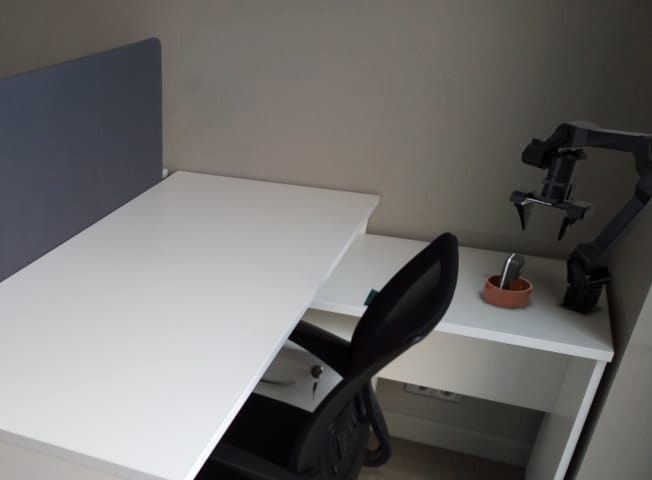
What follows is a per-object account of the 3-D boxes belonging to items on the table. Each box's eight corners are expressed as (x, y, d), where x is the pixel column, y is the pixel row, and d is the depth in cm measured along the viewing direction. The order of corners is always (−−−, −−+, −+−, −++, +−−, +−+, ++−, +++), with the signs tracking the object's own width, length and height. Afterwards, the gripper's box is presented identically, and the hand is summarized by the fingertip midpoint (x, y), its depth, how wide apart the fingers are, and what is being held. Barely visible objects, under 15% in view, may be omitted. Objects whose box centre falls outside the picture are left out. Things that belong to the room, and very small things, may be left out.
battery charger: (508, 305, 182) (521, 263, 176) (492, 301, 184) (504, 259, 178) (515, 295, 187) (528, 254, 180) (500, 292, 189) (512, 250, 182)
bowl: (535, 300, 184) (540, 283, 182) (513, 312, 179) (518, 295, 177) (495, 286, 192) (500, 270, 189) (473, 297, 186) (477, 281, 184)
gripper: (615, 177, 176) (593, 238, 184) (539, 161, 189) (523, 219, 197) (593, 186, 171) (572, 248, 179) (516, 168, 183) (500, 228, 192)
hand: (541, 235), depth 187 cm, fingers open, 9 cm apart
